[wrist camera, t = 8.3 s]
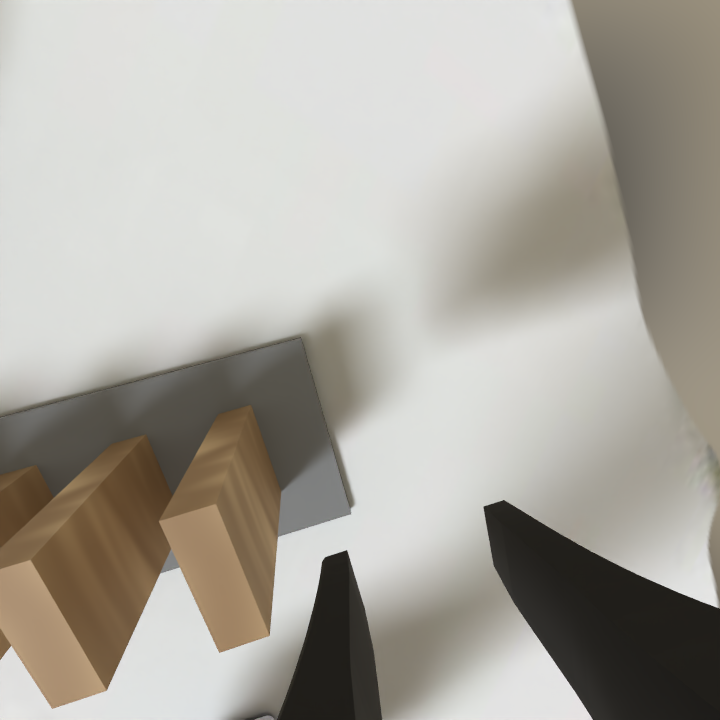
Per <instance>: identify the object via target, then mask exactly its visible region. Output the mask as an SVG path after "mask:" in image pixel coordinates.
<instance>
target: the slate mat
mask: <svg viewBox="0 0 720 720" xmlns="http://www.w3.org/2000/svg"><path fill="white" fill-rule="evenodd" d="M249 405H251V406H252V409H253V412H254V415H255V418H256V420H257V423H258V426H259V429H260V432H261V435H262V438H263V441H264V443H265V446H266V449H267V452H268V455H269V458H270V461H271V464H272V466H273V469H274V472H275V475H276V478H277V481H278V484H279V487H280V489H281V502H280V514H279V526H278V537H279V536H282V535H285V534H288V533H291V532H295V531H298V530H301V529H304V528H308V527H311V526H314V525H317V524H320V523H324V522H327V521H330V520H333V519H337V518H340V517H343V516H346V515H349V514H351V511H350V507H349V503H348V500H347V496H346V493H345V489H344V486H343V482H342V479H341V475H340V472H339V468H338V465H337V462H336V458H335V455H334V451H333V448H332V444H331V441H330V437H329V434H328V430H327V427H326V423H325V420H324V416H323V413H322V409H321V406H320V402H319V399H318V395H317V392H316V389H315V385H314V382H313V378H312V375H311V371H310V368H309V364H308V361H307V357H306V354H305V350H304V347H303V343H302V340H301V338H297V339H293V340H290V341H286V342H282V343H278V344H275V345H271V346H267V347H263V348H259V349H256V350H252V351H248V352H244V353H241V354H237V355H233V356H229V357H226V358H222V359H218V360H214V361H210V362H207V363H203V364H199V365H195V366H192V367H188V368H184V369H180V370H176V371H173V372H169V373H165V374H161V375H158V376H154V377H150V378H146V379H143V380H139V381H135V382H131V383H127V384H124V385H120V386H116V387H112V388H109V389H105V390H101V391H97V392H93V393H90V394H86V395H82V396H78V397H75V398H71V399H67V400H63V401H59V402H56V403H52V404H48V405H44V406H41V407H37V408H33V409H29V410H26V411H22V412H18V413H14V414H10V415H7V416H3V417H0V475H1V474H5V473H9V472H12V471H16V470H19V469H23V468H27V467H30V466H34V465H37V467H38V469H39V471H40V473H41V475H42V477H43V479H44V480H45V482H46V484H47V486H48V488H49V490H50V492H51V494H52V495H53V497H55V496H57V495H58V494H59V493H60V492H61V491H62V490H63V489H64V488H65V487H66V486H67V485H68V484H69V483H70V482H71V481H73V480H74V479H75V478H76V477H77V476H78V475H79V474H80V473H81V472H82V471H83V470H84V469H85V468H86V467H87V466H89V465H90V464H91V463H92V462H93V461H94V460H95V459H96V458H97V457H98V456H99V455H100V454H101V453H102V452H103V451H104V450H106V449H107V448H108V447H109V446H110V445H111V444H113V443H117V442H120V441H124V440H127V439H131V438H135V437H138V436H142V435H145V434H146V435H147V438H148V440H149V442H150V445H151V447H152V449H153V452H154V454H155V456H156V459H157V461H158V463H159V466H160V468H161V470H162V472H163V475H164V477H165V479H166V482H167V484H168V486H169V489H170V491H171V493H172V496H173V495H174V493H175V491H176V489H177V487H178V486H179V484H180V482H181V480H182V478H183V477H184V475H185V473H186V471H187V469H188V468H189V466H190V464H191V462H192V460H193V459H194V457H195V455H196V453H197V451H198V450H199V448H200V446H201V444H202V442H203V441H204V439H205V437H206V435H207V433H208V432H209V430H210V428H211V426H212V424H213V423H214V421H215V419H216V417H217V415H218V414H220V413H224V412H227V411H231V410H234V409H238V408H241V407H245V406H249ZM179 567H180V566H179V564H178V562H177V560H176V558H175V555H174V553H173V551H172V549H171V550H170V553H169V555H168V557H167V559H166V561H165V564H164V566H163V568H162V570H161V572H160V573H163V572H166V571H169V570H172V569H176V568H179Z"/></svg>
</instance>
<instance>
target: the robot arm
mask: <svg viewBox="0 0 720 720" xmlns="http://www.w3.org/2000/svg"><path fill="white" fill-rule="evenodd" d="M484 512H485V518H486V524H487V530H488V535H489V541H490V547H491V552H492V558H493V564H494V567H495V569H496V571H497V572H498V574H499V576H500V578H501V580H502V582H503V584H504V586H505V587H506V589H507V591H508V593H509V595H510V596H511V598H512V600H513V602H514V603H515V605H516V606H517V608H518V609H519V611H520V612H521V614H522V615H523V617H524V618H525V620H526V621H527V623H528V624H529V625H530V627H531V628H532V630H533V631H534V633H535V634H536V636H537V637H538V639H539V640H540V642H541V643H542V644H543V646H544V647H545V649H546V650H547V652H548V653H549V655H550V656H551V657H552V659H553V660H554V662H555V663H556V665H557V666H558V668H559V669H560V670H561V672H562V673H563V675H564V676H565V678H566V679H567V681H568V682H569V684H570V685H571V686H572V688H573V689H574V691H575V692H576V694H577V695H578V697H579V698H580V700H581V701H582V703H583V705H584V706H585V708H586V709H587V711H588V712H589V714H590V715H591V717H592V719H593V720H720V609H719V608H716V607H714V606H711V605H708V604H706V603H703V602H700V601H698V600H695V599H693V598H690V597H688V596H685V595H683V594H680V593H678V592H676V591H673V590H671V589H669V588H666V587H664V586H662V585H660V584H657V583H655V582H653V581H650V580H648V579H646V578H644V577H641V576H639V575H637V574H635V573H633V572H631V571H629V570H626V569H624V568H622V567H620V566H618V565H616V564H614V563H613V562H611V561H609V560H607V559H605V558H603V557H601V556H599V555H597V554H595V553H593V552H591V551H589V550H587V549H586V548H584V547H582V546H580V545H578V544H577V543H575V542H573V541H571V540H570V539H568V538H566V537H564V536H563V535H561V534H559V533H557V532H556V531H554V530H552V529H551V528H549V527H547V526H546V525H544V524H542V523H541V522H539V521H537V520H536V519H534V518H532V517H531V516H529V515H528V514H526V513H524V512H523V511H521V510H519V509H518V508H516V507H514V506H513V505H511V504H509V503H508V502H506V501H504V500H503V501H500V502H497V503H494V504H490V505H487V506H484ZM254 720H274V718H273V717H271V716H263V717H260V718H257V719H254ZM277 720H382V716H381V707H380V699H379V691H378V683H377V674H376V666H375V658H374V651H373V646H372V641H371V636H370V632H369V627H368V622H367V618H366V613H365V608H364V605H363V602H362V598H361V595H360V592H359V588H358V585H357V582H356V578H355V575H354V572H353V568H352V565H351V562H350V558H349V555H348V552H347V550H346V551H343V552H340V553H337V554H334V555H331V556H328V557H325V558H324V560H323V561H322V567H321V574H320V580H319V585H318V590H317V594H316V599H315V603H314V607H313V611H312V615H311V619H310V622H309V626H308V630H307V634H306V637H305V641H304V644H303V647H302V650H301V653H300V656H299V659H298V663H297V666H296V669H295V672H294V675H293V678H292V681H291V684H290V686H289V689H288V692H287V695H286V697H285V700H284V703H283V705H282V708H281V711H280V713H279V716H278V718H277Z"/></svg>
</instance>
